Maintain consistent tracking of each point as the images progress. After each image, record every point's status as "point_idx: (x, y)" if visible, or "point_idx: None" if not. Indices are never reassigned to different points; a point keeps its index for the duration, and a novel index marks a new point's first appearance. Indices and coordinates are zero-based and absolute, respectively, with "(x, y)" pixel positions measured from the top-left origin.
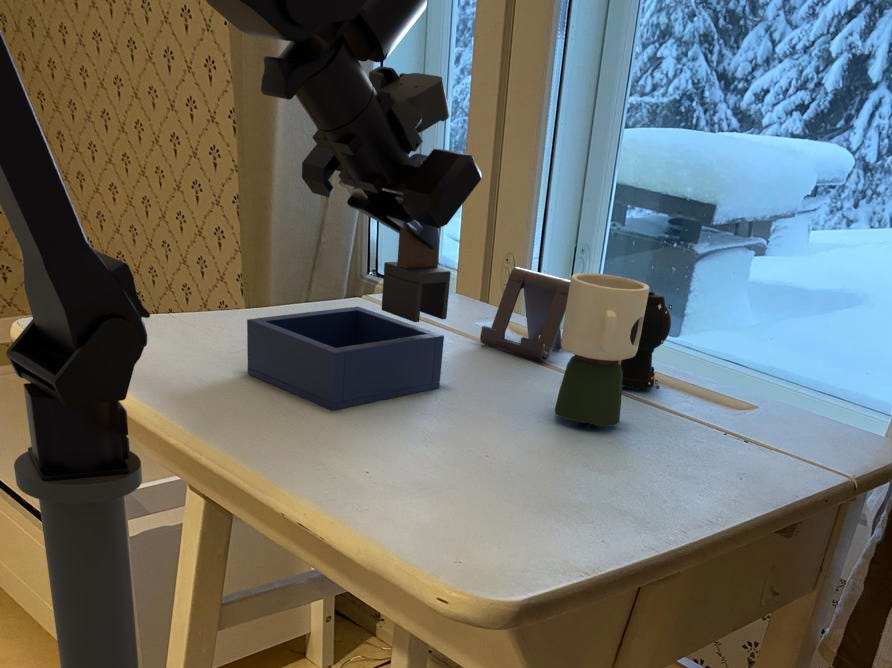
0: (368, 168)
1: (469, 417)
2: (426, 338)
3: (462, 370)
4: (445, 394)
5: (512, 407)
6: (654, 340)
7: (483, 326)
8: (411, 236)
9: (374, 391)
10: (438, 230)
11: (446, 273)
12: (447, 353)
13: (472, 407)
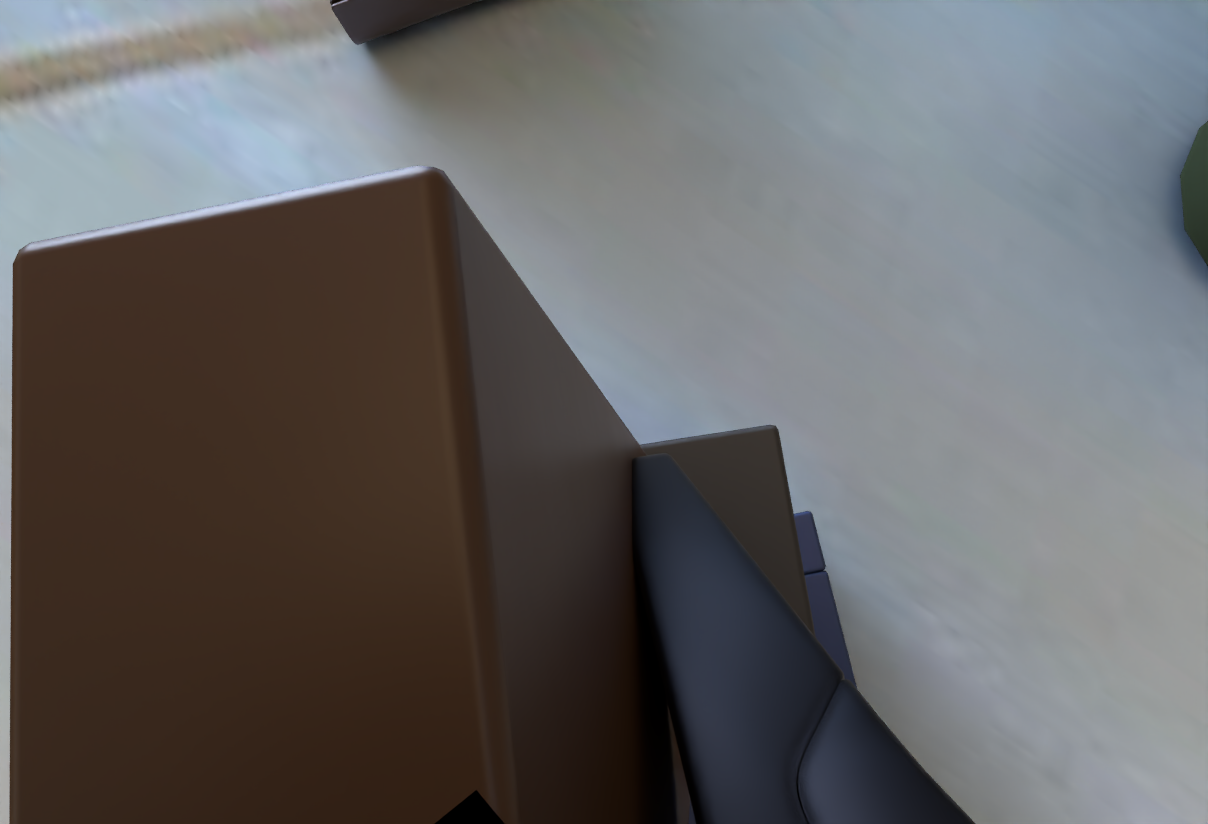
0: None
1: (1135, 616)
2: (841, 637)
3: (612, 298)
4: (858, 539)
5: (1063, 377)
6: None
7: (336, 5)
8: None
9: None
10: (713, 511)
11: (785, 470)
12: None
13: (1027, 530)
